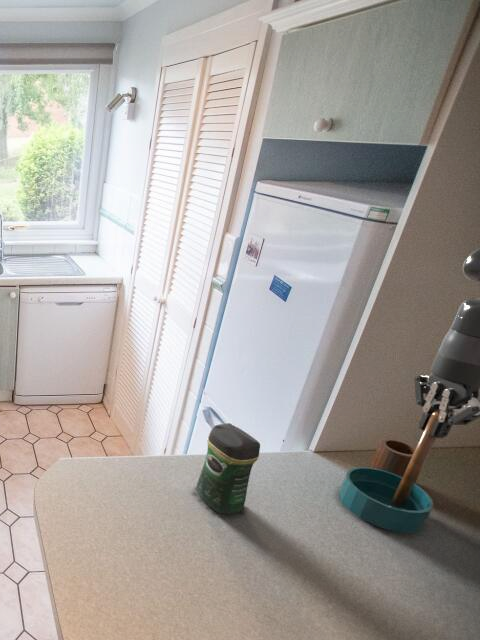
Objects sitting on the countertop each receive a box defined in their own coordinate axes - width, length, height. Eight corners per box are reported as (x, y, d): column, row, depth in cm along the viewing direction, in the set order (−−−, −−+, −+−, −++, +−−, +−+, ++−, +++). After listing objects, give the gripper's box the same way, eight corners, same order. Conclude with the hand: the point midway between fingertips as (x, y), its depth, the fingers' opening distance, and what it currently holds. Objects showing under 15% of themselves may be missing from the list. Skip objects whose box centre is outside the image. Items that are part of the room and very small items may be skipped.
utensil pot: (390, 468, 113) (404, 438, 109) (414, 488, 106) (430, 457, 102) (360, 467, 113) (372, 437, 109) (382, 487, 106) (396, 456, 103)
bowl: (386, 488, 106) (396, 467, 104) (440, 536, 93) (453, 514, 91) (323, 486, 107) (331, 465, 105) (368, 533, 94) (378, 511, 92)
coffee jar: (249, 512, 100) (271, 442, 92) (219, 519, 98) (239, 448, 90) (217, 483, 108) (234, 417, 101) (188, 489, 106) (204, 422, 99)
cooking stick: (397, 503, 99) (441, 409, 89) (405, 509, 97) (450, 414, 87) (388, 502, 99) (430, 408, 89) (395, 509, 97) (439, 414, 88)
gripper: (529, 372, 77) (484, 455, 84) (454, 340, 90) (420, 414, 97) (482, 371, 77) (442, 454, 84) (414, 340, 90) (383, 414, 97)
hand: (430, 432), depth 90 cm, fingers closed on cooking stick, 2 cm apart
